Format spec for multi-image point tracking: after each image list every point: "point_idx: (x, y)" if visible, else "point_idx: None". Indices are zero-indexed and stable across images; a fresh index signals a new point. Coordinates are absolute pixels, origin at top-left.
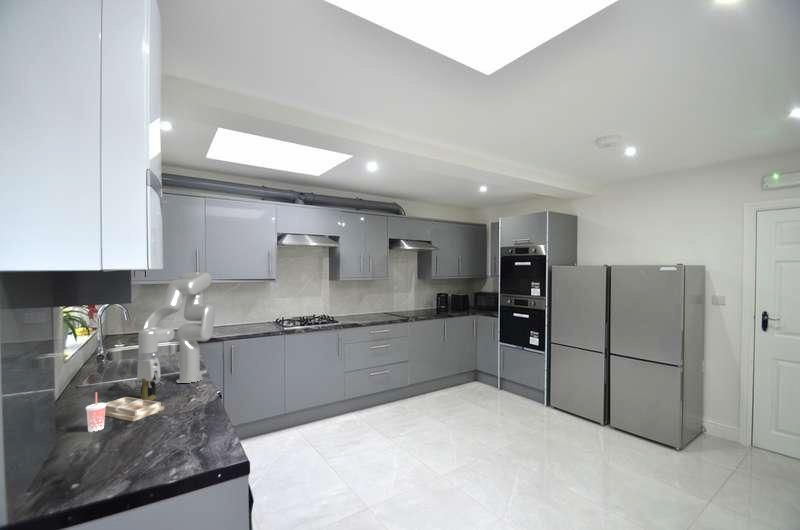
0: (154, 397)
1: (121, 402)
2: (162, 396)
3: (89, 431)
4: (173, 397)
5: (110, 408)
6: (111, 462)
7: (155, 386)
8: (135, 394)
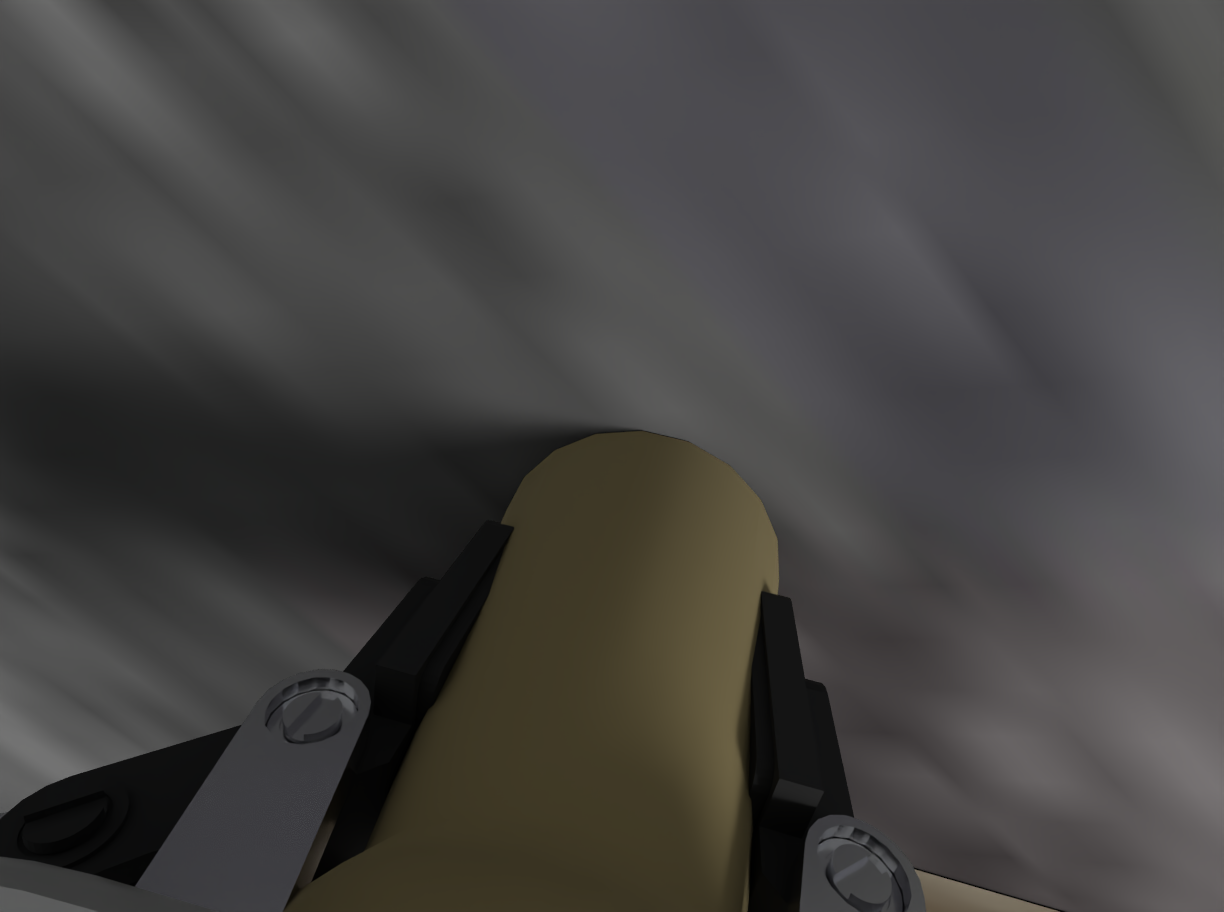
0: (776, 575)
1: None
2: (812, 344)
3: None
4: (1217, 391)
5: None
6: None
7: (820, 777)
8: (43, 281)
